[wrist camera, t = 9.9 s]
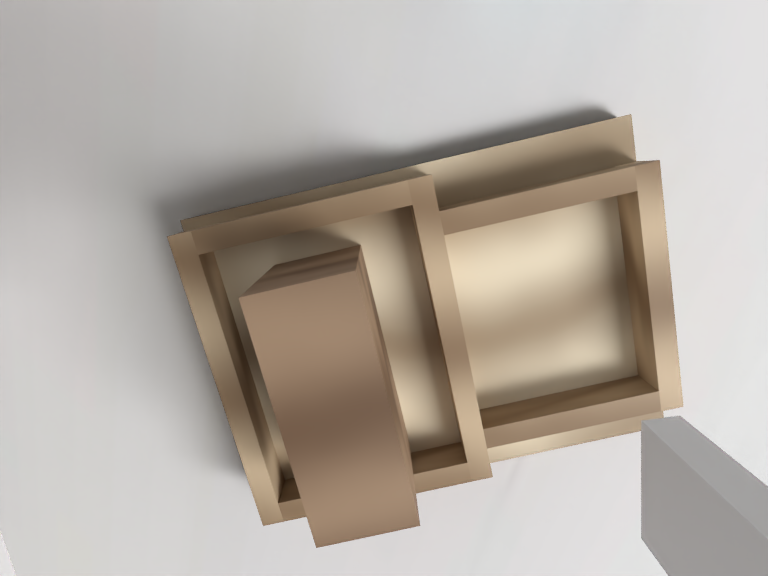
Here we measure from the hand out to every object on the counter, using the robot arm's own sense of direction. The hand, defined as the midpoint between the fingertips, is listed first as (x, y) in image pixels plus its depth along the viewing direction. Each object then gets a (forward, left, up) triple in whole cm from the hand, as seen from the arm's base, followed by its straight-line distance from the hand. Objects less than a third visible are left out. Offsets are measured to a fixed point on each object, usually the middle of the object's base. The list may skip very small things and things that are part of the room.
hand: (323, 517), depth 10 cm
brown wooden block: (+2, -1, -13) cm, 13 cm away
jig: (+1, +4, -14) cm, 15 cm away
